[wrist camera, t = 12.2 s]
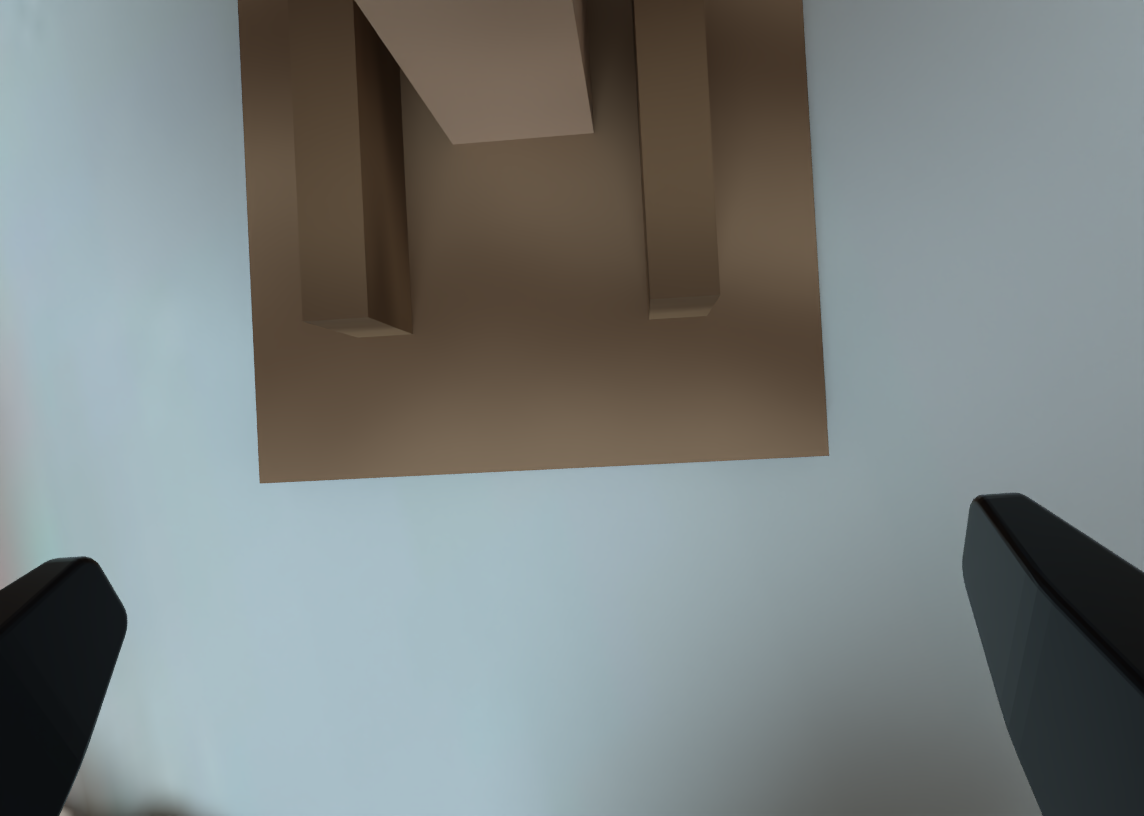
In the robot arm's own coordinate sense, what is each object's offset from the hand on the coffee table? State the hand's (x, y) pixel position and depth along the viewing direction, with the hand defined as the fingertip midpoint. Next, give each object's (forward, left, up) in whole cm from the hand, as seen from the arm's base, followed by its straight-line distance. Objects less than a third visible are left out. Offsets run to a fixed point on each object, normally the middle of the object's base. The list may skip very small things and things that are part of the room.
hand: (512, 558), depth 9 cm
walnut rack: (+9, -2, -10) cm, 14 cm away
